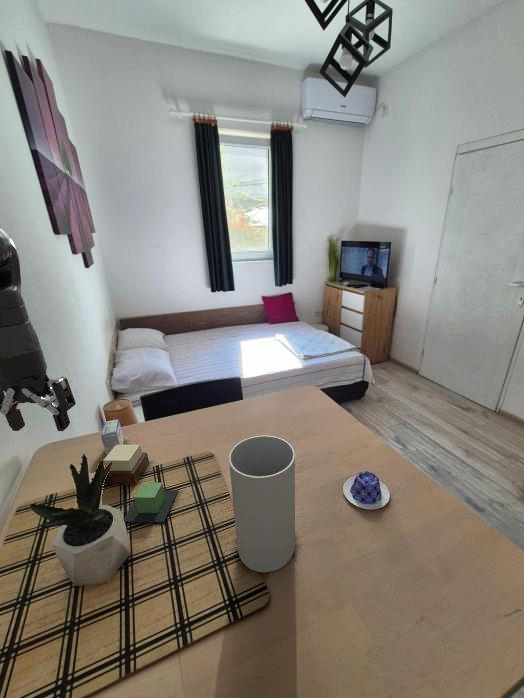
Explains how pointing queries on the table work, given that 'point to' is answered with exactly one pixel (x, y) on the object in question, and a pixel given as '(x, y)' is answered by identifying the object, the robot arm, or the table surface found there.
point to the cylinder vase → (264, 501)
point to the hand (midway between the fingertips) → (41, 428)
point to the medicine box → (111, 435)
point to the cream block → (123, 457)
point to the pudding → (366, 491)
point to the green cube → (149, 497)
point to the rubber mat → (152, 517)
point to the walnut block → (128, 473)
